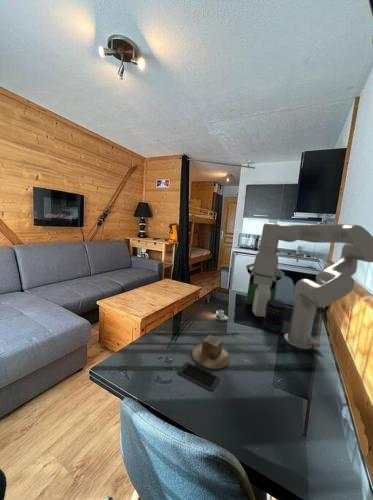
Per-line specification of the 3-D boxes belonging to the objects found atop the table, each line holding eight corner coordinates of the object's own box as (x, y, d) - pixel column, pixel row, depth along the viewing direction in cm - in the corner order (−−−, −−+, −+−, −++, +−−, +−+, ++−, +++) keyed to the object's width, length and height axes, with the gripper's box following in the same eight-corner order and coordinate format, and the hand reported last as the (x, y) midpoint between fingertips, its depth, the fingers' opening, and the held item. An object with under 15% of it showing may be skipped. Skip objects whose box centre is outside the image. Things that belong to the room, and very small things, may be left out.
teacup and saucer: (227, 322, 120) (228, 315, 119) (213, 319, 121) (214, 312, 121) (227, 316, 128) (228, 309, 128) (214, 313, 130) (215, 307, 129)
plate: (235, 355, 90) (235, 353, 90) (219, 375, 77) (219, 372, 77) (203, 341, 98) (203, 339, 98) (184, 356, 85) (185, 354, 85)
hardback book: (245, 303, 153) (251, 269, 149) (246, 299, 160) (251, 268, 156) (272, 309, 147) (278, 274, 144) (272, 305, 154) (278, 272, 151)
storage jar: (261, 329, 115) (265, 303, 113) (263, 323, 124) (268, 298, 122) (281, 336, 111) (286, 308, 109) (282, 328, 119) (287, 303, 117)
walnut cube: (221, 354, 88) (223, 340, 87) (214, 361, 83) (216, 346, 82) (208, 347, 91) (209, 334, 91) (200, 354, 86) (202, 340, 86)
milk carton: (266, 317, 132) (272, 287, 129) (255, 316, 132) (260, 286, 129) (262, 312, 139) (267, 284, 136) (251, 311, 139) (256, 282, 137)
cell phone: (186, 363, 82) (186, 361, 82) (220, 379, 75) (220, 377, 75) (175, 373, 76) (176, 372, 76) (212, 393, 69) (212, 391, 69)
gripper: (289, 253, 97) (282, 290, 100) (251, 247, 107) (246, 280, 109) (286, 254, 91) (279, 293, 94) (246, 247, 100) (241, 283, 103)
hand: (261, 286), depth 101 cm, fingers open, 9 cm apart
